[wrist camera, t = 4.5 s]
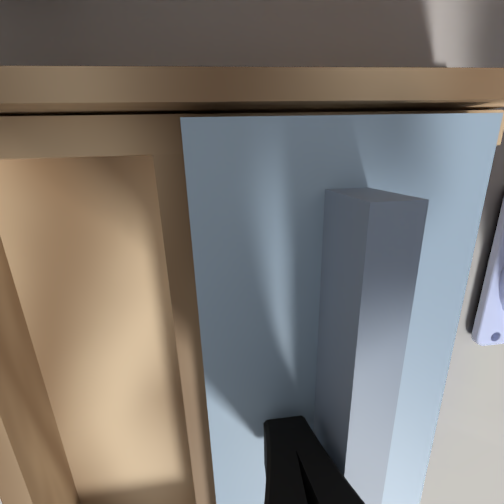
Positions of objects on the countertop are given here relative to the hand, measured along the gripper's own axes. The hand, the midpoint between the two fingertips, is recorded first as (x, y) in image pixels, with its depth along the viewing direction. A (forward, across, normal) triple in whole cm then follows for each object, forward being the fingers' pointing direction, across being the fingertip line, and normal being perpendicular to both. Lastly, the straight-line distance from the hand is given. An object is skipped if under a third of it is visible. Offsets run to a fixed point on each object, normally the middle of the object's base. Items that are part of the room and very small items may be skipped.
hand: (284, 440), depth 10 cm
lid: (+1, -2, 0) cm, 2 cm away
